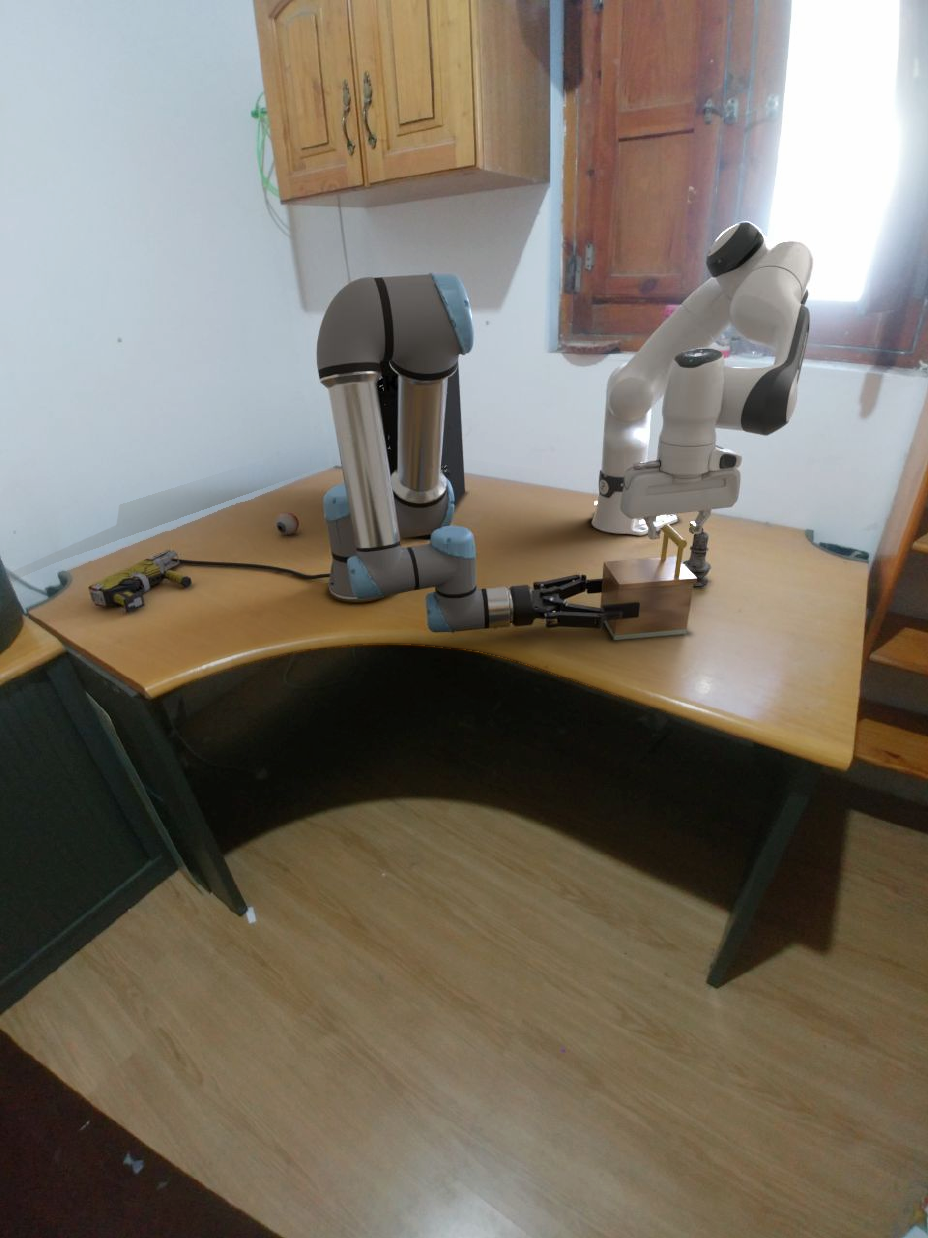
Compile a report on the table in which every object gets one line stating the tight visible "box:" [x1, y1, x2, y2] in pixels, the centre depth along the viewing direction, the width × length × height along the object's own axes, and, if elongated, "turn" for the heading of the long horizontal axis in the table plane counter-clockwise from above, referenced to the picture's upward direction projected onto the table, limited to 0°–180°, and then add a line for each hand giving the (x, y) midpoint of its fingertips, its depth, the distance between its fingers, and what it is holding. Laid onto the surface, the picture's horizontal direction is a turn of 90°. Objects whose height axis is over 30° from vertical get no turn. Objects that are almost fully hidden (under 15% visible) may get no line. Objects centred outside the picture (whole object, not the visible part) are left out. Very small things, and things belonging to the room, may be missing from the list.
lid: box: [602, 524, 697, 590], centre depth 108 cm, size 14×10×8 cm
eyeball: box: [275, 511, 300, 536], centre depth 163 cm, size 6×6×6 cm
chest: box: [599, 566, 694, 641], centre depth 113 cm, size 14×10×10 cm
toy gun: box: [87, 549, 193, 614], centre depth 138 cm, size 5×24×15 cm
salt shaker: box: [682, 527, 712, 587], centre depth 126 cm, size 6×6×12 cm
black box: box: [377, 361, 466, 539], centre depth 164 cm, size 38×20×45 cm, turn 167°
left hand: (629, 596), depth 112 cm, fingers closed on chest, 10 cm apart
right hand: (674, 535), depth 107 cm, fingers open, 6 cm apart
